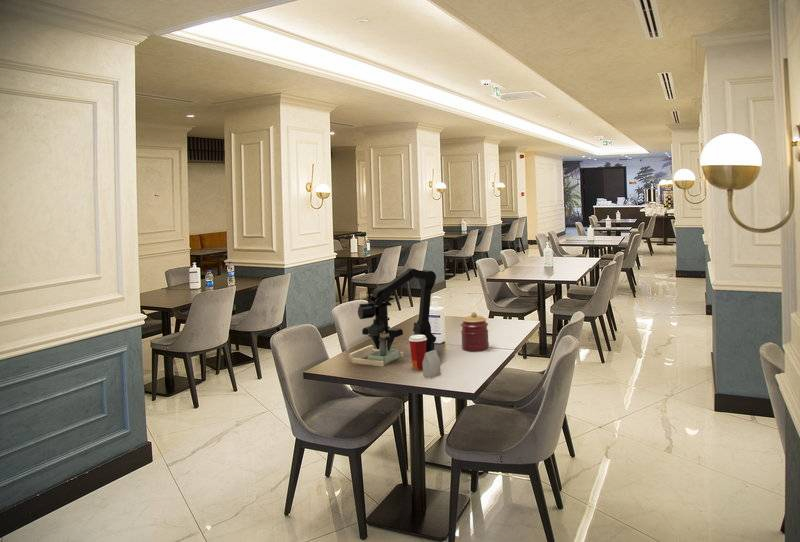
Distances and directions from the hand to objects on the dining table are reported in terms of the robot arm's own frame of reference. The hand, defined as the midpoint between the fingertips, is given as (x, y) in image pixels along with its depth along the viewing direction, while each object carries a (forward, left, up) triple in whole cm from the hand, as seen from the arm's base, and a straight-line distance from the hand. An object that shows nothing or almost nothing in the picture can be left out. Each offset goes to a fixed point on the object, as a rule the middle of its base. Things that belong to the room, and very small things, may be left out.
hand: (383, 350), depth 257 cm
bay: (+4, 0, -6) cm, 7 cm away
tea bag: (-30, +10, -6) cm, 32 cm away
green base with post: (0, 0, -5) cm, 5 cm away
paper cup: (-20, +3, -6) cm, 21 cm away
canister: (-29, -36, -6) cm, 47 cm away
